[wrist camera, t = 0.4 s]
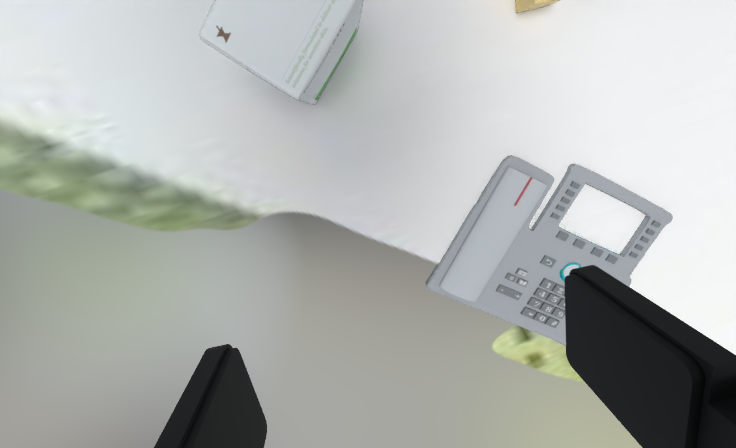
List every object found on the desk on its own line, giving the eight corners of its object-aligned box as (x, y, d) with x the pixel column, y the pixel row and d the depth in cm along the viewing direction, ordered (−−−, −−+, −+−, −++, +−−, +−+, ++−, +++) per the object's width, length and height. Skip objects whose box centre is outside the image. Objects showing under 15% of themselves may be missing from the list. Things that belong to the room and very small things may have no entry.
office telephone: (427, 295, 42) (521, 131, 36) (422, 284, 44) (510, 129, 39) (588, 359, 46) (692, 221, 41) (576, 346, 49) (672, 214, 43)
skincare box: (314, 106, 36) (297, 110, 21) (253, 65, 34) (188, 39, 20) (360, 27, 34) (377, -29, 19) (298, -20, 32) (265, -120, 18)
